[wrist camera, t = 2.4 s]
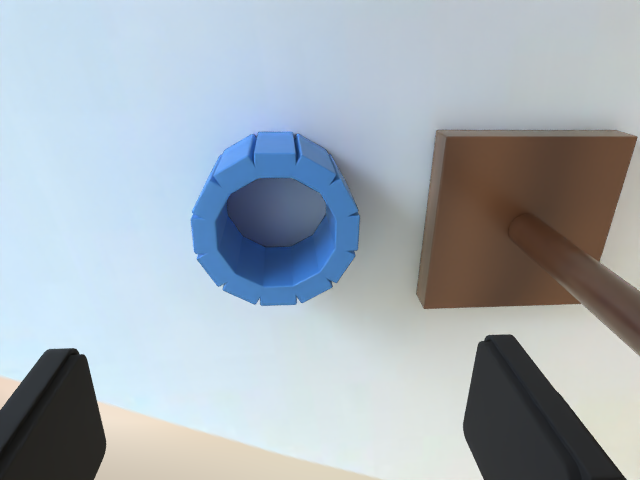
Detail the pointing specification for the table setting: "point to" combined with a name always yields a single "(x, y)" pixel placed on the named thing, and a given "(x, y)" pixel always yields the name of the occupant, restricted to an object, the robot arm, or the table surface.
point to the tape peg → (527, 223)
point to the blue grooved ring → (275, 262)
